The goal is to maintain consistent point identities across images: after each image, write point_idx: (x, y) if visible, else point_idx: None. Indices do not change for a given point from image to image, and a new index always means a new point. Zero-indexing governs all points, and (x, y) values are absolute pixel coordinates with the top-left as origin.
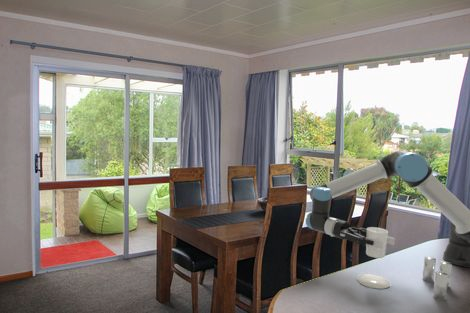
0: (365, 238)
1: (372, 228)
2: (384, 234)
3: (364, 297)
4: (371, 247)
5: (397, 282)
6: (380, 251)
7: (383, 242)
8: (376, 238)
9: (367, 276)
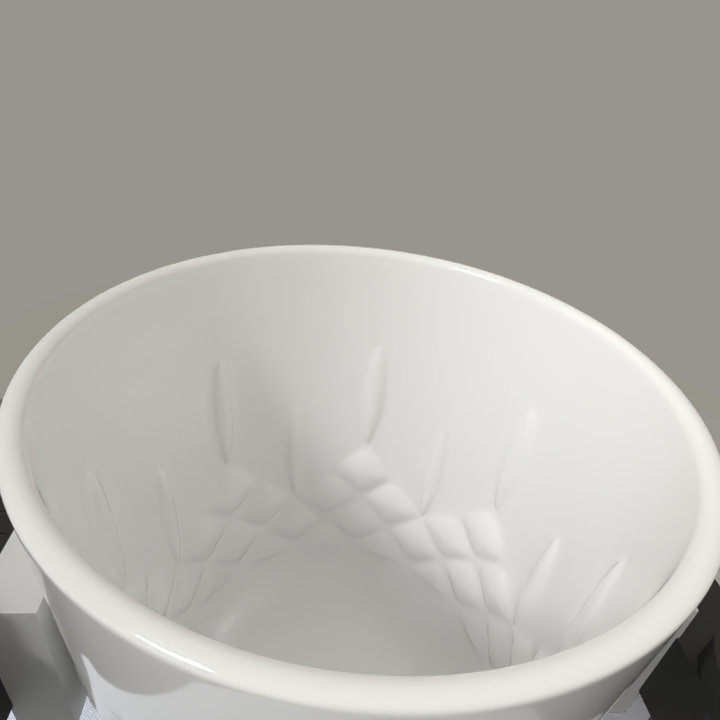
0: (717, 637)
1: (158, 638)
2: (417, 282)
3: (634, 701)
4: (512, 636)
5: (94, 717)
6: (397, 550)
7: (394, 417)
8: (529, 424)
9: None
